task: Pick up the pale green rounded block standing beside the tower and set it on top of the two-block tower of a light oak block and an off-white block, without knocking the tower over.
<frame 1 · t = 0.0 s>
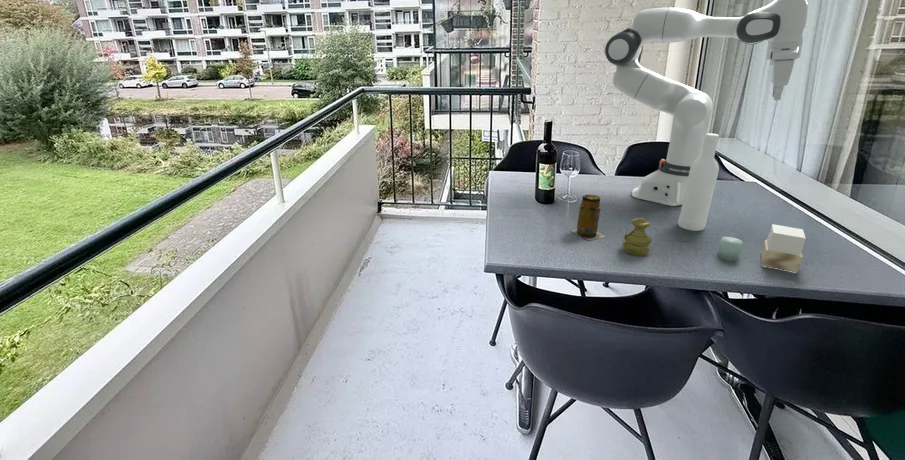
hand: (776, 98, 148), 39 cm above the table, tool pointing down, fingers open, 8 cm apart
bottle: (690, 227, 149), on the table
tower top: (782, 248, 123), point 5 cm above the table, touching tower base
tower base: (777, 264, 125), on the table, touching tower top
olive ridged tapered piece: (635, 251, 131), on the table
condiment: (588, 234, 142), on the table
pale green rounded block: (727, 256, 129), on the table
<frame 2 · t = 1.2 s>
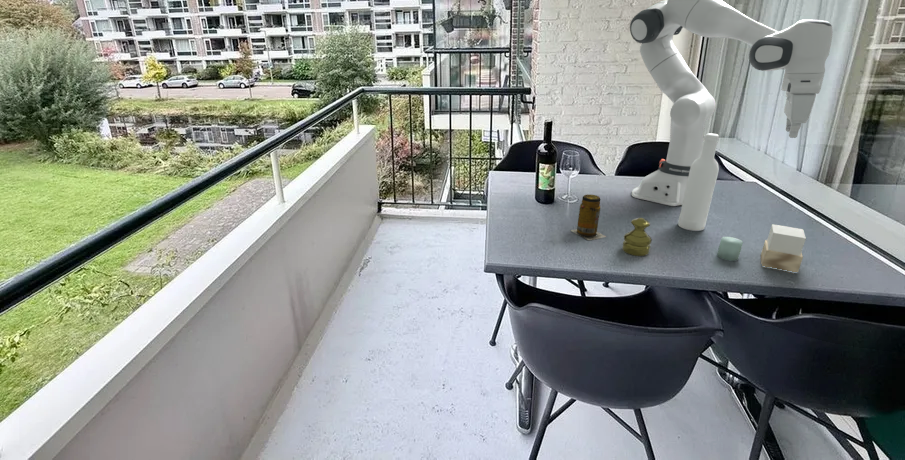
hand: (790, 134, 131), 32 cm above the table, tool pointing down, fingers open, 8 cm apart
nothing on the table moved.
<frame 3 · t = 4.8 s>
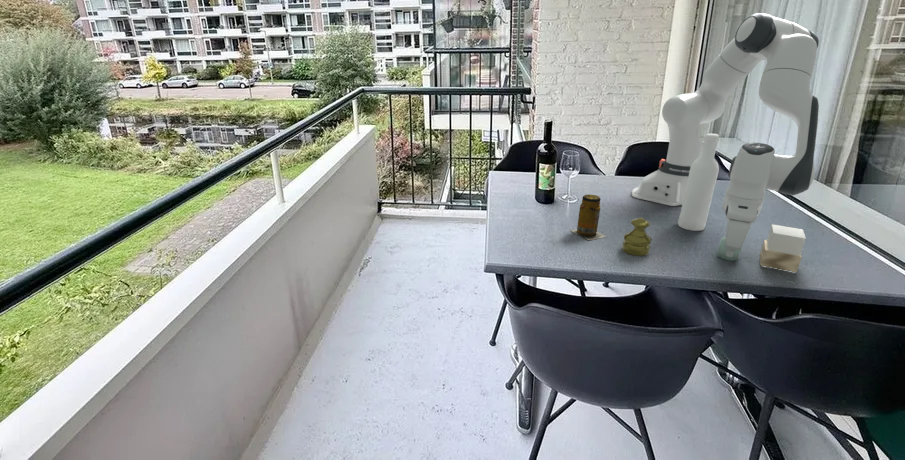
hand: (729, 251, 128), 2 cm above the table, tool pointing down, fingers closed on pale green rounded block, 5 cm apart
pale green rounded block: (727, 256, 129), on the table, touching gripper
everything else where it was.
when the fingers open (13 cm above the table, at t = 9.2 s): pale green rounded block drops 1 cm, point 10 cm above the table.
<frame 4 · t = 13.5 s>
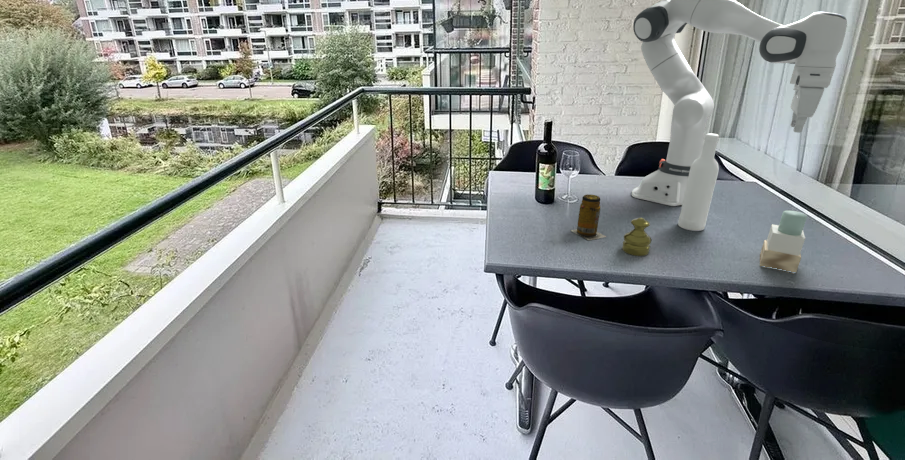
hand: (795, 129, 129), 33 cm above the table, tool pointing down, fingers open, 8 cm apart
pale green rounded block: (789, 231, 121), point 10 cm above the table
everything else where it was.
at the end: pale green rounded block 0.4 cm off-centre on the tower top, point 5.0 cm above the tower top's base; tower top 0.1 cm off-centre on the tower base, point 5.0 cm above the tower base's base; pale green rounded block tilted 0° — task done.
